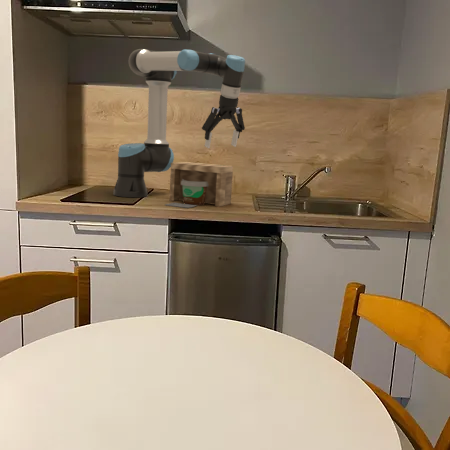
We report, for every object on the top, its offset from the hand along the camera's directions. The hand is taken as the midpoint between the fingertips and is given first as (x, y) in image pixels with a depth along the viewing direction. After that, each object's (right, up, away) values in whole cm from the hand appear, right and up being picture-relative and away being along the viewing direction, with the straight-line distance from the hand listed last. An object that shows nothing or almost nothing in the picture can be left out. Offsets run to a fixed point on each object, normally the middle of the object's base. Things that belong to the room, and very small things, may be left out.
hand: (220, 146), depth 220 cm
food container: (-12, -24, +4) cm, 27 cm away
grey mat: (-16, -25, -2) cm, 30 cm away
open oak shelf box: (-9, -23, +12) cm, 27 cm away
